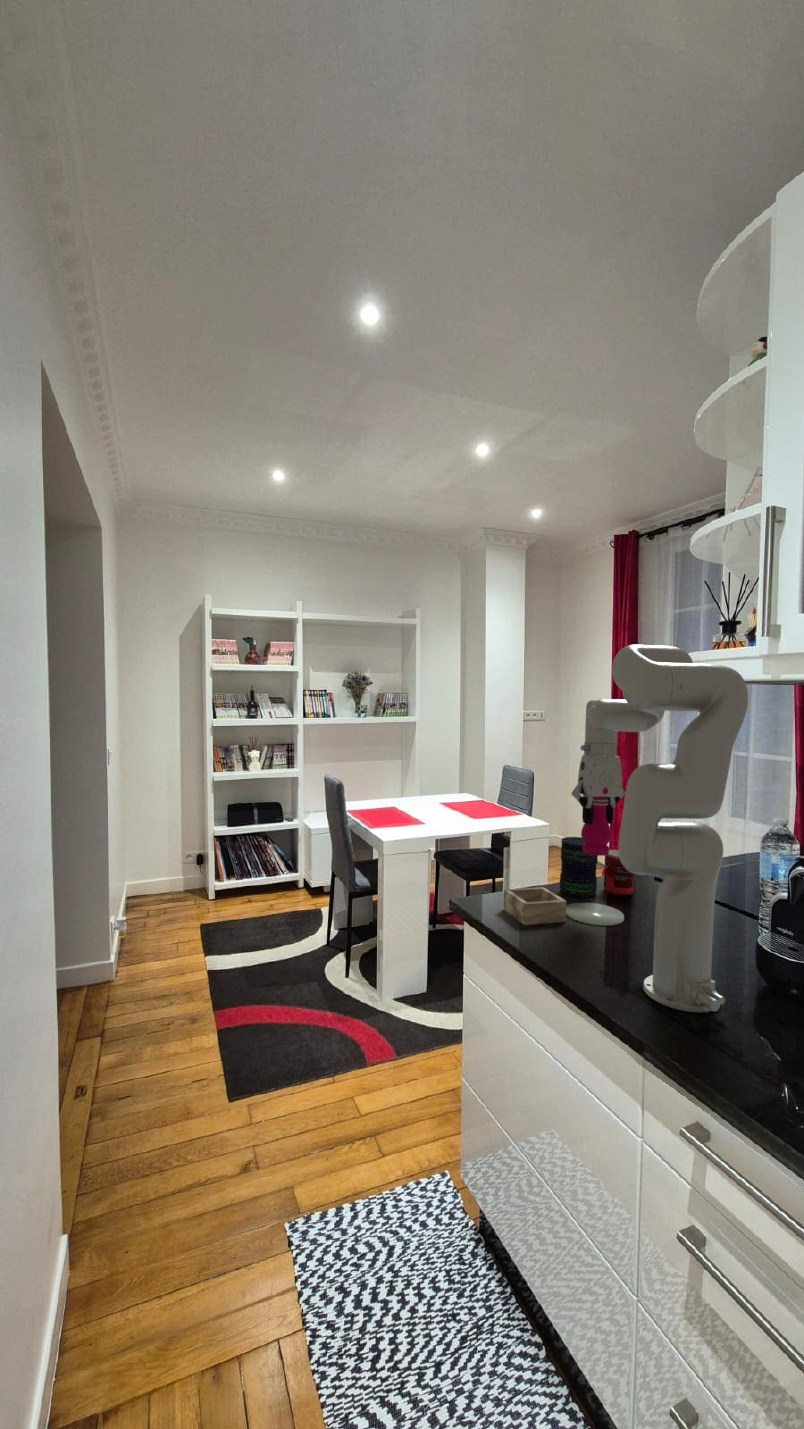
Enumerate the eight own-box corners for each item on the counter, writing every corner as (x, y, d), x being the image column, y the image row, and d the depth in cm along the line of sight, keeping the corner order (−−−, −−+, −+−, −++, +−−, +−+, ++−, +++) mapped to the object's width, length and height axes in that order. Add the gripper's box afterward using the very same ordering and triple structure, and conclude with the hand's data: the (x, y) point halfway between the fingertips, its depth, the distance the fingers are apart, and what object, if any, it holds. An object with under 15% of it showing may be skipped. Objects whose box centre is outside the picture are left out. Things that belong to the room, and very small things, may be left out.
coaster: (636, 923, 146) (636, 919, 146) (585, 927, 142) (585, 924, 142) (601, 903, 159) (601, 900, 159) (554, 907, 155) (554, 904, 155)
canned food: (612, 886, 176) (614, 848, 175) (638, 893, 169) (640, 854, 169) (597, 890, 171) (599, 852, 170) (623, 898, 165) (625, 858, 164)
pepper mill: (612, 857, 146) (616, 774, 146) (581, 854, 147) (585, 772, 147) (608, 850, 153) (612, 771, 153) (579, 848, 154) (582, 769, 154)
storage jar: (599, 902, 161) (601, 846, 160) (561, 899, 162) (563, 843, 162) (593, 890, 171) (595, 838, 170) (557, 888, 172) (559, 835, 172)
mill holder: (565, 921, 145) (566, 901, 145) (524, 925, 142) (525, 904, 142) (542, 906, 156) (543, 887, 156) (503, 909, 153) (504, 889, 153)
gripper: (578, 751, 144) (575, 827, 144) (639, 751, 148) (636, 825, 149) (561, 748, 151) (559, 821, 151) (620, 749, 156) (617, 819, 156)
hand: (597, 822), depth 150 cm, fingers closed on pepper mill, 5 cm apart
